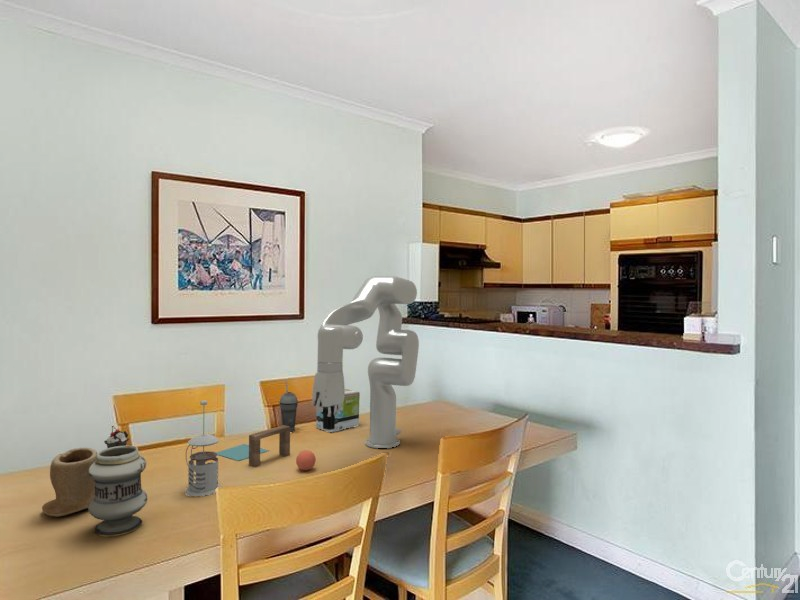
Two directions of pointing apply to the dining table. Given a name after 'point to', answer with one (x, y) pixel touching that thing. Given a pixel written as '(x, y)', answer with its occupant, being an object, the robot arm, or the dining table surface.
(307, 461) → the ball
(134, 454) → the apothecary jar
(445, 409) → the dining table surface
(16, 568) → the dining table surface
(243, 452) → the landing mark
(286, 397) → the beverage cup
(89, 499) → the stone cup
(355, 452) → the dining table surface
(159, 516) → the dining table surface
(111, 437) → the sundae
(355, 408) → the tea box
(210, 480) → the french press
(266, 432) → the bridge
